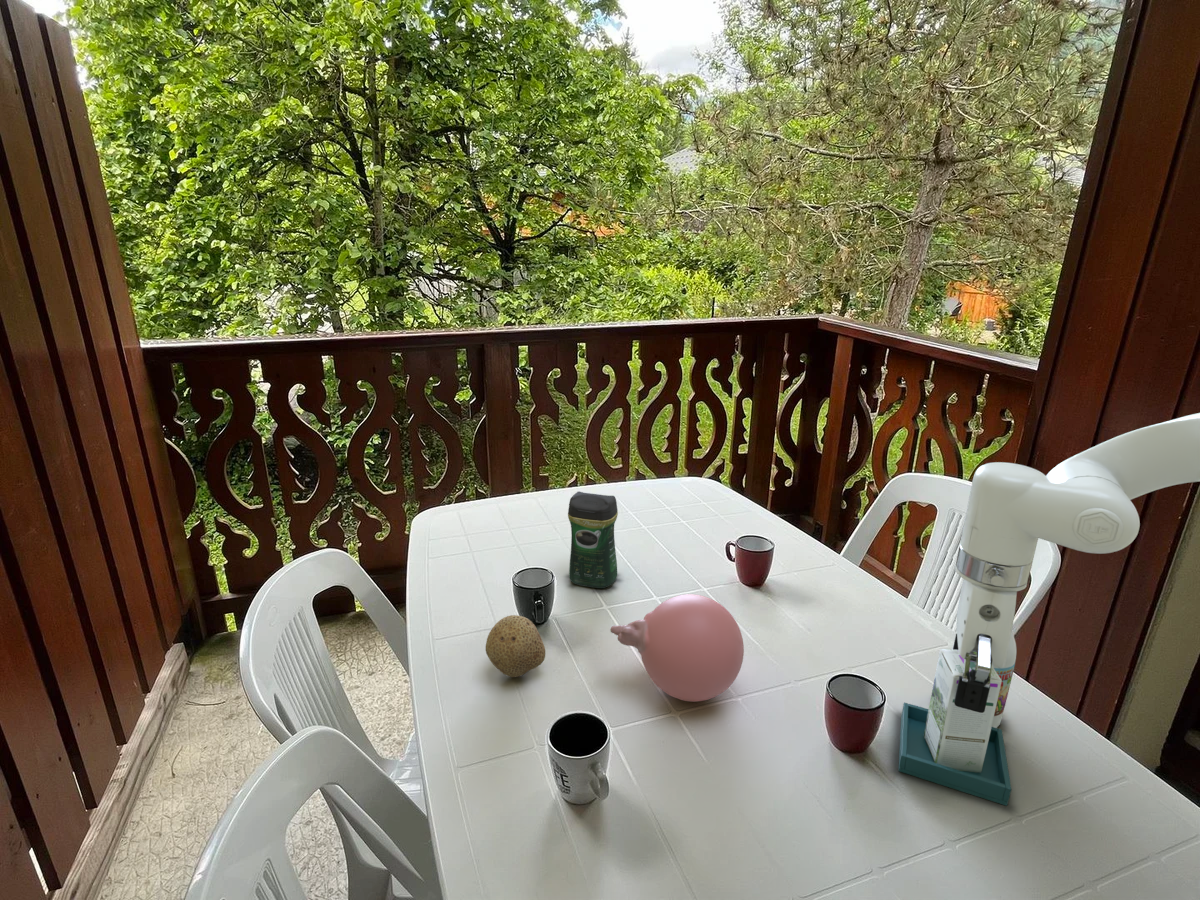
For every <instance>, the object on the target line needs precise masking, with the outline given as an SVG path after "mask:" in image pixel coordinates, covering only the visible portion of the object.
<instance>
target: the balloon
mask: <svg viewBox="0 0 1200 900" xmlns="http://www.w3.org/2000/svg"><path fill="white" fill-rule="evenodd" d="M610 633H611V634H614V635H615V636H617V641H618V642H619V643H620V644H621V645H623V646H627V647H628V646H629V647H633V648H635V649H636V650H637V651H638V653H639V655H640V658H641V661H642V664H643V667H644V669H645V672H646V673H647V675H648V676H649V678H650V679H651V681H652V682H653V683H654V684H655V686H657V688H658V689H660V690H661V691H662V692H664V693H665V694H667V695H668V696H670V697H672V698H674V699H678V700H680V701H685V702H694V703H695V702H704V701H708V700H711V699H713V698H716V697H718V696H719V695H722V694H723V693H724V692H725V691H727V690H728V689H729V688H730V687H731V686H732V684H733V683H734V682H735V680H736V679H737V677H738V675H739V674H740V671H741V668H742V666H743V662H744V654H745V653H744V652H745V648H744V646H745V645H744V640H743V633H742V631H741V629H740V626H739V624H738V622H737V621H736V619H735V617H734V616H733V614H732V613H730V611H729V610H728V609H727V608H726V607H724V606H723V605H722V604H721V603H719V602H718V601H717V600H714V599H713V598H710V597H708V596H705V595H701V594H693V593H685V594H679V595H675V596H672V597H670V598H668V599H666V600H664V601H662V602H661V603H660V604H658V605H657V606H656V607H655V608H654V609H653V610H651V611H650V612H647V613H646V614H645V616H644V617H643V619H637V620H634V621H632V622H629V623H628V624H622V625H612V626H611V627H610Z"/></svg>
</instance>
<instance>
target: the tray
mask: <svg viewBox="0 0 1200 900" xmlns="http://www.w3.org/2000/svg"><path fill="white" fill-rule="evenodd" d="M928 710H929V708H926V707H922V706H918V705H916V704H913V703H912V704H911V703H908V702H903V706H902V711H901V716H900V733H899V752H898V753H899V754H898V772H899V773H903V774H906V775H908V776H913V777H914V778H915V777H916V778H918V779H922V780H925V781H929V782H931V783H934V784H938V785H940V786H943V787H947V788H950V789H952V790H956V791H959V792H962V793H966V794H968V795H972V796H975V797H977V798H981V799H984V800H987V801H990V802H993V803H996V804H999V805H1003V806H1006V807H1007V806H1008V804H1009V800H1010V797H1011V792H1012V785H1011V779H1010V773H1009V772H1010V771H1009V768H1008V767H1009V766H1008V761H1007V753H1006V748H1005V747H1006V746H1005V741H1004V734H1003V730H1002V729H1001V728H998V727H997V728H994V727H991V732H990V736H989V741H988V745H987V750H986V754H985V758H984V762H983V767H982V771H981V773H979V772H971V771H962V770H957V769H953V768H950V767H947V766H944V765H940V764H937V763H935V762H934V760H933V757H932V755H931V753H930V750H929V748H928V746H927V743H926V741H925V739H924V732H925V727H926V721H927V716H928Z"/></svg>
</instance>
